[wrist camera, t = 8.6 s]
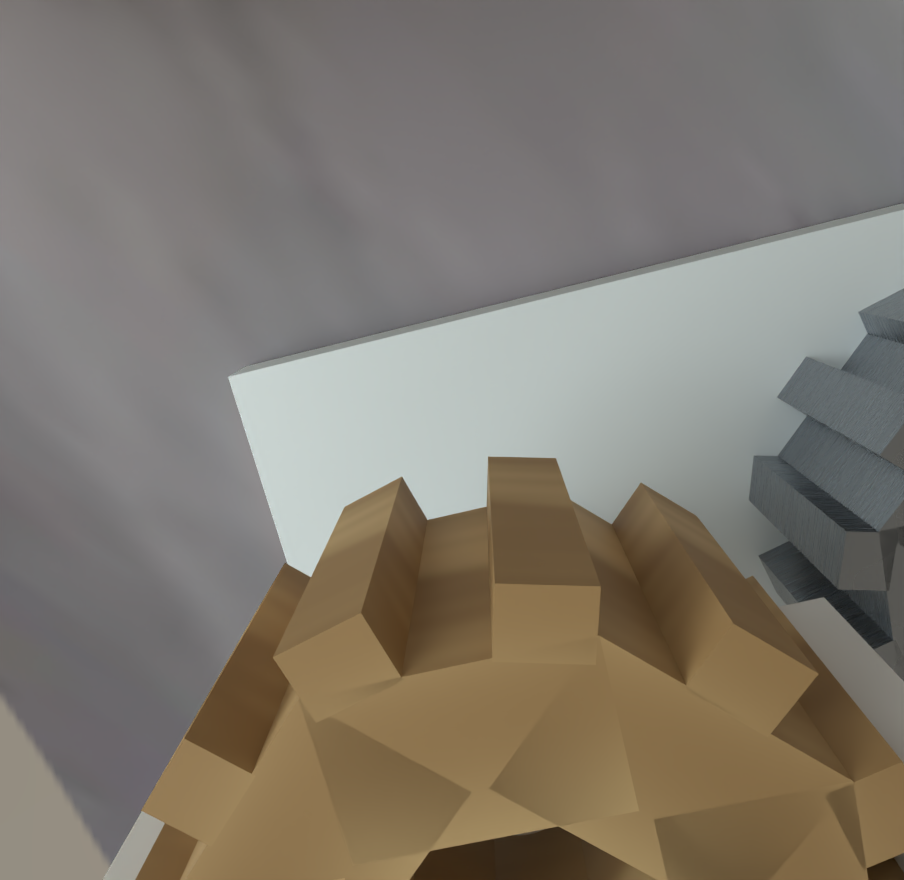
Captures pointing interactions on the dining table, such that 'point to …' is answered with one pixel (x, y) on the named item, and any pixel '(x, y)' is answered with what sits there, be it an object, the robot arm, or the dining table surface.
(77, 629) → the dining table surface
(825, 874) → the wooden gear
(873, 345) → the gear
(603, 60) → the dining table surface
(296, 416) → the gear board
